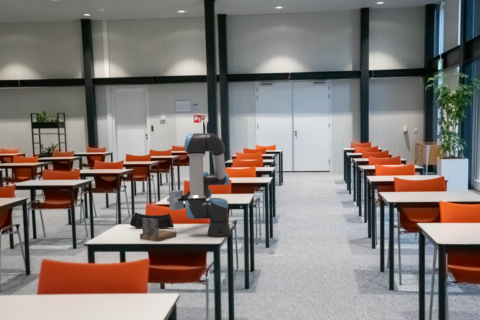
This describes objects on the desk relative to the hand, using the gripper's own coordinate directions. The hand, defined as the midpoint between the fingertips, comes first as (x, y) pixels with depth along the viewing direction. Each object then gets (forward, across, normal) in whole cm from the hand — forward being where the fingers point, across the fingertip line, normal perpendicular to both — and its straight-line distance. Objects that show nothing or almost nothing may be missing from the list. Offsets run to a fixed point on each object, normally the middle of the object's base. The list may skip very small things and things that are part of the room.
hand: (170, 200), depth 337 cm
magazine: (-7, +25, -22) cm, 34 cm away
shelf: (+13, -1, -22) cm, 25 cm away
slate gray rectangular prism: (-5, 0, -7) cm, 8 cm away
